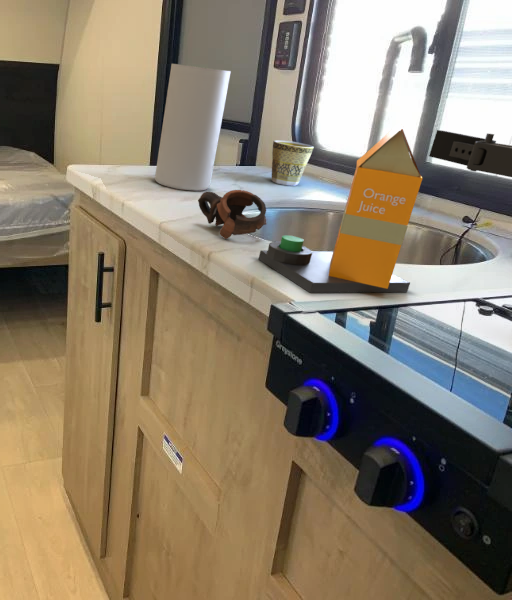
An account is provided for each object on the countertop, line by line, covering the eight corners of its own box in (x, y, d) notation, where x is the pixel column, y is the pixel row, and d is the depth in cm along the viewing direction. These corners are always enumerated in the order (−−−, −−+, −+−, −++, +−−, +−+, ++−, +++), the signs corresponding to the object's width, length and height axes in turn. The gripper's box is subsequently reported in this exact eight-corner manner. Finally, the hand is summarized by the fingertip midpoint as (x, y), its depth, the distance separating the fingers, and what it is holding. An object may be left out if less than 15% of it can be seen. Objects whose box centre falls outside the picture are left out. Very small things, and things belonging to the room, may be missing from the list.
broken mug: (263, 234, 104) (279, 200, 98) (242, 268, 99) (258, 233, 92) (202, 204, 107) (214, 168, 100) (178, 235, 101) (190, 199, 95)
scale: (346, 260, 94) (351, 242, 92) (407, 292, 82) (414, 271, 81) (255, 259, 88) (259, 239, 87) (307, 293, 77) (312, 271, 76)
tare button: (292, 247, 87) (295, 235, 86) (304, 253, 84) (307, 242, 84) (275, 246, 86) (278, 235, 85) (286, 253, 83) (289, 241, 83)
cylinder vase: (153, 176, 141) (170, 63, 132) (206, 183, 141) (226, 70, 132) (155, 186, 130) (173, 63, 120) (212, 194, 130) (234, 71, 120)
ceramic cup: (298, 189, 149) (308, 148, 145) (259, 181, 153) (268, 141, 150) (311, 183, 159) (320, 145, 156) (275, 176, 164) (283, 138, 160)
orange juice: (386, 270, 86) (430, 127, 78) (388, 289, 78) (438, 132, 70) (329, 258, 88) (367, 118, 80) (326, 275, 80) (368, 122, 73)
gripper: (581, 239, 44) (382, 176, 62) (783, 244, 52) (552, 187, 70) (627, 134, 41) (403, 101, 59) (832, 157, 49) (579, 121, 67)
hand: (484, 147), depth 65 cm, fingers open, 13 cm apart
